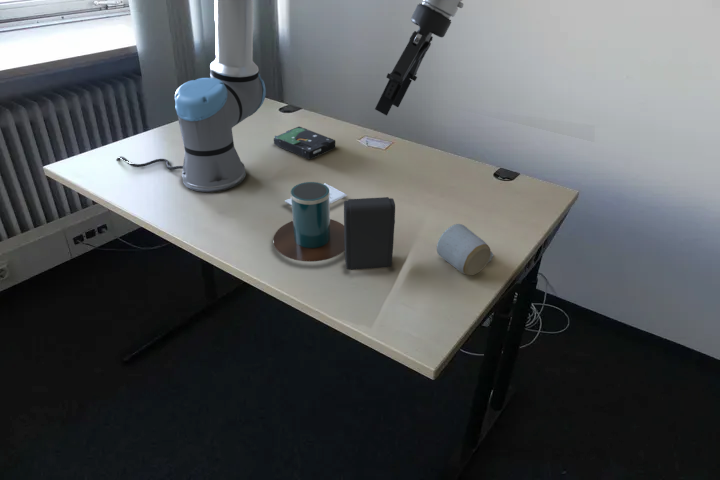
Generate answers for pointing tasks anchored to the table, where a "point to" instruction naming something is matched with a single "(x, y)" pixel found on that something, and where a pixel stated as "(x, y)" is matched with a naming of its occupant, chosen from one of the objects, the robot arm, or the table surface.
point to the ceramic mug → (464, 249)
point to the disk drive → (304, 142)
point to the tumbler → (311, 214)
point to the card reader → (369, 232)
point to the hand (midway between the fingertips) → (387, 108)
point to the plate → (294, 251)
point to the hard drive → (333, 195)
